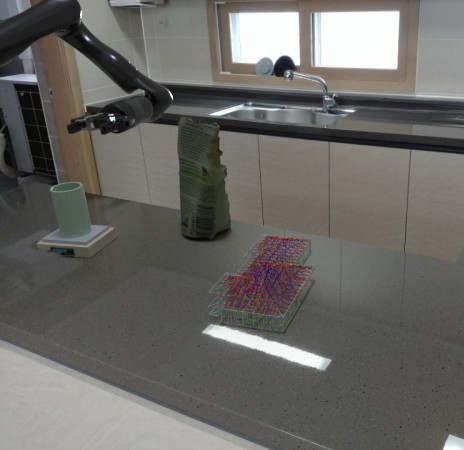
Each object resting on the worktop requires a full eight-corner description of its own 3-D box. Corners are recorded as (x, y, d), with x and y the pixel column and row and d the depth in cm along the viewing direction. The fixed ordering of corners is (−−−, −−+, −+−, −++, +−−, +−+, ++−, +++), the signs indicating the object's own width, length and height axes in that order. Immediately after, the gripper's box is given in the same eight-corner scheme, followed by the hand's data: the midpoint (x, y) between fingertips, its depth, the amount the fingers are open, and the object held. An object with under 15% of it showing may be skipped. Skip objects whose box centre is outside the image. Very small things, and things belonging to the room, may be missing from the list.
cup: (54, 237, 110) (43, 191, 106) (72, 225, 116) (62, 181, 112) (80, 239, 109) (70, 192, 105) (98, 226, 114) (88, 182, 110)
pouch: (188, 222, 123) (173, 113, 113) (239, 220, 122) (229, 111, 112) (175, 243, 112) (158, 124, 103) (232, 241, 112) (219, 122, 102)
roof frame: (261, 244, 110) (259, 220, 108) (332, 251, 106) (332, 226, 104) (191, 324, 84) (187, 295, 82) (282, 338, 79) (280, 308, 77)
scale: (37, 255, 110) (33, 241, 109) (69, 234, 119) (66, 221, 118) (88, 259, 107) (85, 245, 106) (117, 237, 116) (114, 224, 115)
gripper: (96, 100, 136) (54, 113, 122) (146, 100, 133) (109, 113, 118) (101, 129, 139) (61, 145, 125) (150, 130, 136) (115, 146, 121)
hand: (85, 130), depth 122 cm, fingers open, 8 cm apart
